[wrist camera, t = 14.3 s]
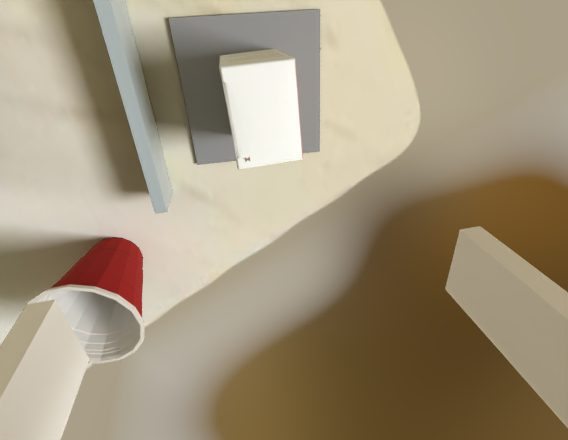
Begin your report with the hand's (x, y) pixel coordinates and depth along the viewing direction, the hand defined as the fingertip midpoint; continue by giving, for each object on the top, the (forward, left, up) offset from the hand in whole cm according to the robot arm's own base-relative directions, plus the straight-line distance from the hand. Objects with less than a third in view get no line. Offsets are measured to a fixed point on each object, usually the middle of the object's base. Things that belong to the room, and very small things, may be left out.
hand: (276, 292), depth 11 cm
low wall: (-9, +1, -28) cm, 30 cm away
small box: (+2, +1, -28) cm, 28 cm away
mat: (+2, +1, -28) cm, 28 cm away
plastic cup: (-17, -17, -29) cm, 37 cm away
